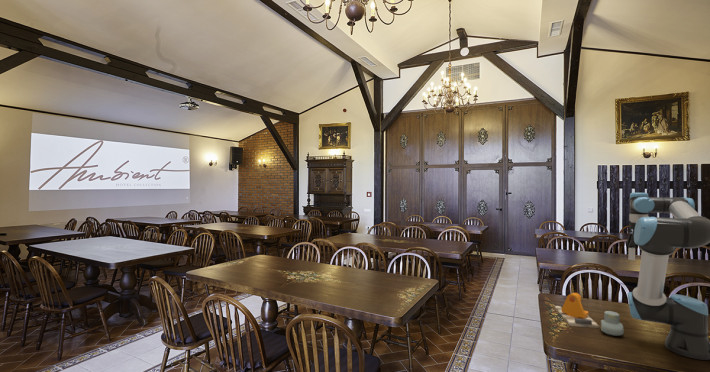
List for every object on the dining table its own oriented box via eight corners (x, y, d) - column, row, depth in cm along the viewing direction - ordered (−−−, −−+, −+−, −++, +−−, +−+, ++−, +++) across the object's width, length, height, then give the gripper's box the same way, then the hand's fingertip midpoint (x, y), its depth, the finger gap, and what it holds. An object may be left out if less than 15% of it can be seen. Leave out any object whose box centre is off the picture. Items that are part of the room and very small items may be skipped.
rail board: (599, 328, 172) (599, 322, 172) (569, 325, 176) (569, 319, 176) (580, 310, 197) (580, 304, 197) (554, 307, 201) (554, 302, 201)
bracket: (589, 316, 184) (589, 294, 184) (583, 319, 180) (583, 297, 180) (567, 310, 193) (567, 289, 193) (561, 313, 189) (561, 291, 189)
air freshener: (600, 327, 173) (600, 307, 173) (620, 331, 169) (620, 311, 169) (602, 335, 164) (602, 314, 164) (624, 339, 160) (624, 318, 160)
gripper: (661, 225, 165) (661, 268, 166) (634, 220, 189) (634, 258, 190) (643, 224, 167) (642, 267, 168) (618, 219, 191) (618, 257, 192)
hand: (638, 262), depth 179 cm, fingers open, 13 cm apart
